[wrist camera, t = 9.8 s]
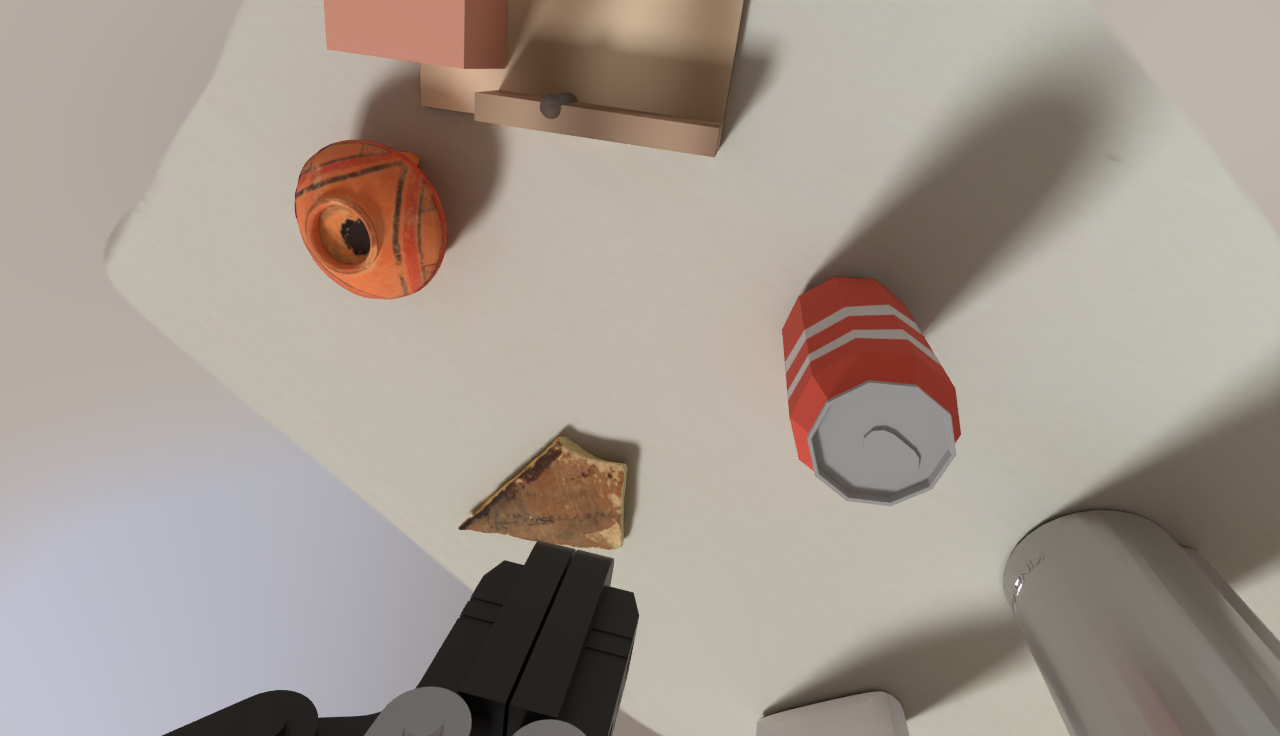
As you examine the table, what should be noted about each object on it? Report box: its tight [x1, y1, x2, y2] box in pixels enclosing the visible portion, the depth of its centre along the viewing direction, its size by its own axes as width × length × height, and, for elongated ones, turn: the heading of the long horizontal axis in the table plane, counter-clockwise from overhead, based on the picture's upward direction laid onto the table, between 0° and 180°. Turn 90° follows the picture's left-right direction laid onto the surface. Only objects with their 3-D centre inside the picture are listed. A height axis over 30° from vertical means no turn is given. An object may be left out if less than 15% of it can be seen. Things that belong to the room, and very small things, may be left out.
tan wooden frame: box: [420, 0, 744, 157], centre depth 30 cm, size 15×10×4 cm, turn 83°
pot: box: [295, 140, 447, 299], centre depth 34 cm, size 8×8×7 cm
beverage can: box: [782, 277, 961, 506], centre depth 30 cm, size 6×6×12 cm
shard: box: [459, 436, 628, 550], centre depth 42 cm, size 11×8×2 cm
